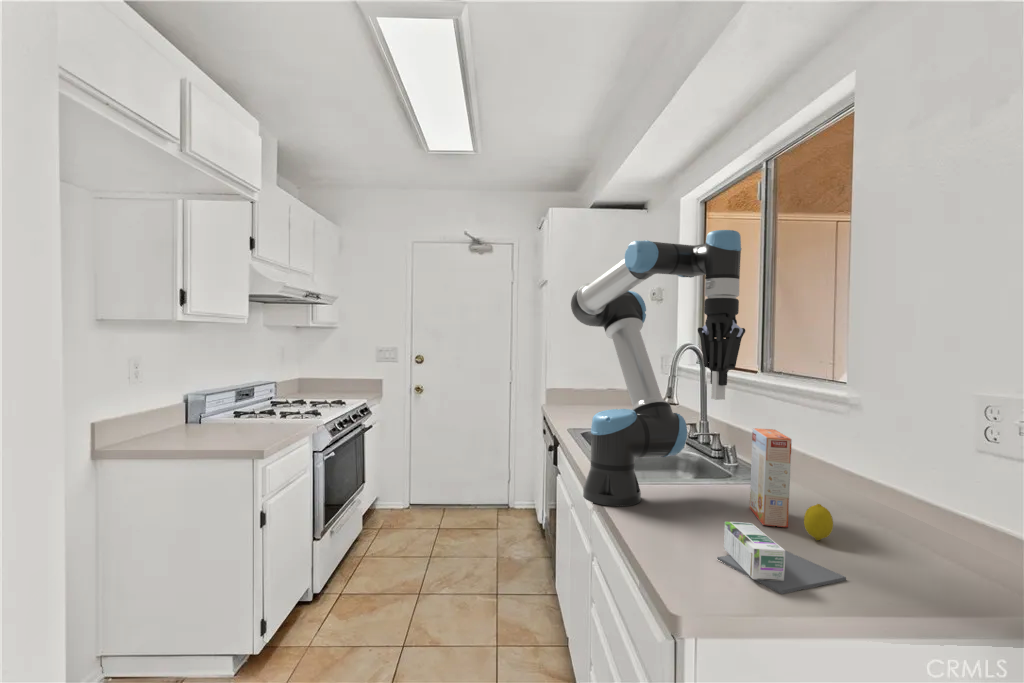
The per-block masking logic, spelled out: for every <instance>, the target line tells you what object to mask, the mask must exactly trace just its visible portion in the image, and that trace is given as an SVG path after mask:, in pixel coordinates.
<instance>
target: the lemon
mask: <svg viewBox="0 0 1024 683" xmlns="http://www.w3.org/2000/svg"><path fill="white" fill-rule="evenodd" d="M803 516H804V518H803V525H804V528H805V531H806V533H808V535H810V536H811V537H812V538H814V540H815V541H817V540H820V541H821V540H823V539H826V538H827V537H829V536H830V535H831V533H832V532H833V529H834V520H833V516H832V514H831V512H830V511H829V509H827V508H826V507H825V506H823V505H822V504H820V503H817V504H814V505H811V506H810V507H808V508H807V509H806V511H805V513H804V515H803Z"/></svg>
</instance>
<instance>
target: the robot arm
mask: <svg viewBox="0 0 1024 683" xmlns="http://www.w3.org/2000/svg"><path fill="white" fill-rule="evenodd" d="M741 243H742V239H741V234H740V232H739V231H738V230H733V229H718V230H717V229H716V230H712V231H709V232H708V233H707V235H706V240H705V243H701V244H695V245H692V244H681V243H668V242H659V241H651V240H648V239H646V240H632V242H630V243H629V244H628V246H627V248H626V249H625V252H624V258H623V259H622V260H621V261H619V262H618V263H616V264H615V265H614V266H613V267H611V268H610V269H608V270H607V271H606V272H604V273H603V274H602V275H600V276H599V277H598V278H596V279H594V281H592V282H588V283H584V284H583V285H581V286H580V287H579V288H578V289H577V290H575V292H574V293H573V294H572V296H571V300H570V308H571V312H572V315H573V316H574V318H575V319H576V320H577V321H578V322H580V323H581V324H583V325H585V326H589V327H597V328H598V327H599V328H601V327H602V328H603V329H604V332H605V335H606V337H607V338H609V339H612V341H613V342H612V343H613V345H614V348H615V351H616V355H617V358H618V362H619V366H620V369H621V372H622V376H623V378H624V382H625V385H626V389H627V391H628V392H627V393H628V395H629V399H630V402H631V406H632V408H630V409H629V408H619V409H618V408H615V409H614V408H611V409H606V410H602V411H599V412H596V413H595V414H594V415H593V417H592V419H591V427H590V435H591V437H590V469H589V470H588V471H589V472H588V475H587V476H586V480H585V482H584V486H583V491H582V497H583V498H584V499H585V500H586V501H588V502H591V503H594V504H597V505H603V506H609V507H610V506H611V507H629V506H634V505H638V504H639V503H640V502H641V501H642V500H641V496H642V495H641V494H642V493H641V489H640V488H641V487H640V485H639V482H638V478H637V475H636V474H637V473H636V471H635V469H636V466H635V463H636V459H640V458H641V459H643V458H644V459H645V458H666V457H671V456H672V457H673V456H676V455H678V454H680V453H681V452H682V451H683V450H684V448H685V446H686V441H687V439H688V426H687V422H686V419H685V418H684V417H683V415H681V414H680V413H678V412H673V409H672V406H671V404H670V402H668V401H666V400H664V399H663V397H662V394H661V390H660V388H659V385H658V384H659V383H658V381H657V379H656V376H655V372H654V370H653V366H652V364H651V360H650V356H649V354H648V352H647V348H646V344H645V342H644V340H643V336H642V333H641V330H642V329H643V328H644V323H645V320H646V318H647V314H646V312H647V306H646V303H645V301H644V299H643V297H642V295H640V294H639V293H637V292H635V291H633V290H632V289H633V288H635V287H637V286H638V285H639V284H641V283H643V282H645V280H647V279H649V278H650V277H652V276H653V275H656V274H658V275H672V276H674V275H675V276H677V277H679V278H694V277H700V276H705V278H704V281H705V282H704V296H705V297H706V298H705V299H704V302H703V303H704V305H703V306H704V307H703V313H704V315H706V319H705V322H704V325H703V326H702V327H698V328H697V333H698V336H699V339H700V345H701V351H702V360H703V367H704V368H708V369H709V371H710V381H709V382H710V384H711V395H710V397H711V398H710V399H711V400H714V401H715V400H716V401H717V400H720V401H721V400H726V386H727V385H728V373H729V372H730V371H731V370H735V369H736V365H737V362H738V361H737V360H738V355H739V352H740V349H741V348H740V347H741V344H742V343H741V342H742V338H743V336H744V335H745V333H746V329H745V327H740V326H739V325H738V321H737V318H736V316H737V315H738V314H739V313H740V312H739V307H740V306H739V305H740V300H739V299H738V297H739V296H740V277H741V253H742V252H741V251H742V244H741Z"/></svg>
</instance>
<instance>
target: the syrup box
mask: <svg viewBox="0 0 1024 683" xmlns="http://www.w3.org/2000/svg"><path fill="white" fill-rule="evenodd" d="M723 533H724V534H723V535H724V537H723V538H724V540H723V541H724V542H723V549H724V550H725V552H726V553H727V554H728V555H730V556H731V557H732V558H733V559H734V560H735V561H736V562H737V563H738V564H739V565H740V566H741V567H742V568H743V569H744V570H745V571H746V572H747V573H748V574H749V575H750V577H751V578H750V577H749V578H750V579H752V580H754V579H761V580H771V581H784V571H785V549H784V548H783V547H781V545H780V544H778V543H777V542H775V541H774V540H773V539H772V538H770V536H768V535H767V534H766V533H765V532H763V531H762V530H761V529H759V528H758V527H757V526H756V525H755V524H754V523H752V522H741V521H740V522H739V521H724V532H723Z"/></svg>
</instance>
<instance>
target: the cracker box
mask: <svg viewBox="0 0 1024 683" xmlns="http://www.w3.org/2000/svg"><path fill="white" fill-rule="evenodd" d="M751 434H752V436H751V464H750V467H751V469H750V487H749V488H750V491H749V510H751V512H752V513H753V514H754V515H755V517H756V518H757V519H758V521H759V522H760V523H761V524H762V526H768V527H775V526H777V528H778V527H779V528H789V516H790V514H789V512H790V511H789V510H790V509H789V508H790V489H791V486H790V484H791V483H790V482H791V462H792V442H793V440H792V438H790V437H788V436H787V435H785V434H783V433H781V432H780V431H778V430H776V429H773V428H771V429H770V428H759V427H757V428H753V427H752V433H751Z"/></svg>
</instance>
